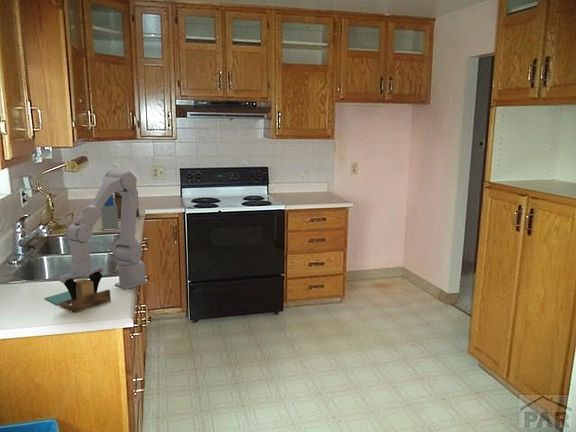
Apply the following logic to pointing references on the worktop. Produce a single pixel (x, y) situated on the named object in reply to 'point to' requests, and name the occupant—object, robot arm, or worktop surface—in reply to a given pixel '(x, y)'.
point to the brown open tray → (86, 301)
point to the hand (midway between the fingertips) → (84, 296)
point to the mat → (59, 298)
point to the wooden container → (119, 202)
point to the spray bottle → (109, 214)
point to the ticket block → (84, 288)
